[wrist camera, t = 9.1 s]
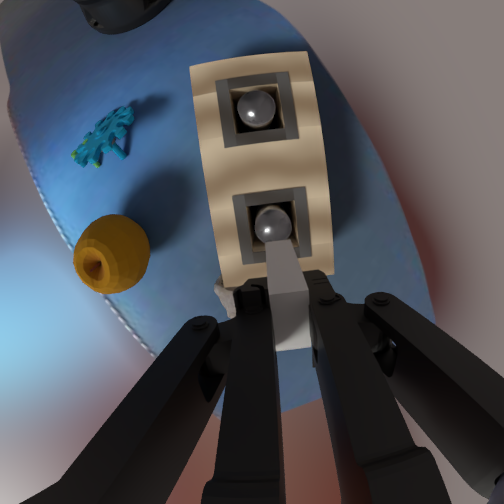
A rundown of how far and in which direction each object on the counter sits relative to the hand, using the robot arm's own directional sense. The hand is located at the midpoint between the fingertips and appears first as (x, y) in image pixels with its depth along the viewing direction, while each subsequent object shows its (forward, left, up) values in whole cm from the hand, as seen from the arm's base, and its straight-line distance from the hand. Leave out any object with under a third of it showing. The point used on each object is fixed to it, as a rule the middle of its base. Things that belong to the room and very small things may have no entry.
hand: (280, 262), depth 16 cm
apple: (+1, -20, -20) cm, 28 cm away
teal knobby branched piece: (-14, -20, -20) cm, 31 cm away
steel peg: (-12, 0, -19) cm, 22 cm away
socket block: (-6, 0, -19) cm, 20 cm away
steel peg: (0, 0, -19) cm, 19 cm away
